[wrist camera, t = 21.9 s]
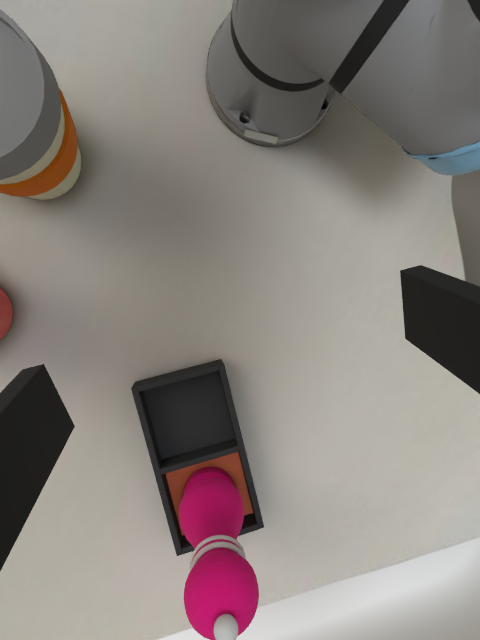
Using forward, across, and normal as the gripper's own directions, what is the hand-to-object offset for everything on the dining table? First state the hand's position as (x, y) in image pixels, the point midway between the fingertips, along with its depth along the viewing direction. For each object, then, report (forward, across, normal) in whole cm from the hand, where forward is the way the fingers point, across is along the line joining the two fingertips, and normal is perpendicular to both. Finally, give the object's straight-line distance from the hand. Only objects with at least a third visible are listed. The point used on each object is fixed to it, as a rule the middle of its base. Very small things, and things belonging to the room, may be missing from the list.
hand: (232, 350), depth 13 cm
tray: (+25, -8, -24) cm, 36 cm away
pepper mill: (+23, -8, -29) cm, 38 cm away
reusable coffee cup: (+35, -16, +12) cm, 40 cm away
